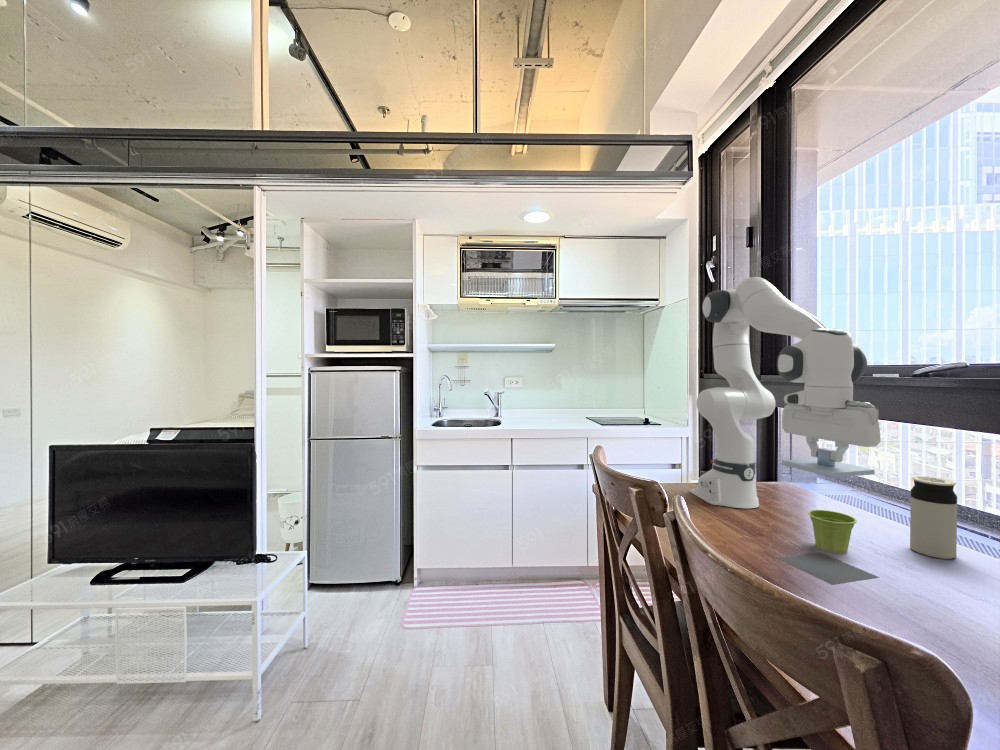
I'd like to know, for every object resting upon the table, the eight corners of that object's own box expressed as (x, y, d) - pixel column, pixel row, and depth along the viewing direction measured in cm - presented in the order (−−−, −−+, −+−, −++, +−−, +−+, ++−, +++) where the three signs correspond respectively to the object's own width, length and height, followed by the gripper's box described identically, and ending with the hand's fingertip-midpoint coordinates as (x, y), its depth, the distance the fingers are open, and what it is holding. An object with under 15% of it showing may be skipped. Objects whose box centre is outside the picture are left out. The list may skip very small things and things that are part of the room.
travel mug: (920, 556, 102) (921, 482, 102) (903, 544, 109) (904, 474, 109) (964, 562, 99) (965, 485, 99) (943, 549, 106) (944, 477, 106)
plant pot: (865, 560, 100) (865, 524, 100) (820, 557, 102) (820, 521, 101) (842, 544, 109) (842, 511, 109) (800, 541, 111) (801, 508, 111)
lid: (781, 464, 102) (781, 445, 102) (821, 461, 105) (821, 443, 104) (831, 477, 90) (832, 456, 90) (874, 474, 93) (875, 453, 93)
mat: (776, 560, 100) (776, 557, 100) (819, 554, 103) (819, 551, 103) (832, 587, 87) (832, 584, 87) (879, 580, 90) (879, 577, 90)
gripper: (889, 402, 88) (887, 469, 88) (798, 395, 107) (796, 449, 108) (866, 403, 86) (864, 471, 86) (777, 395, 106) (776, 451, 106)
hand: (826, 459), depth 97 cm, fingers closed on lid, 3 cm apart
